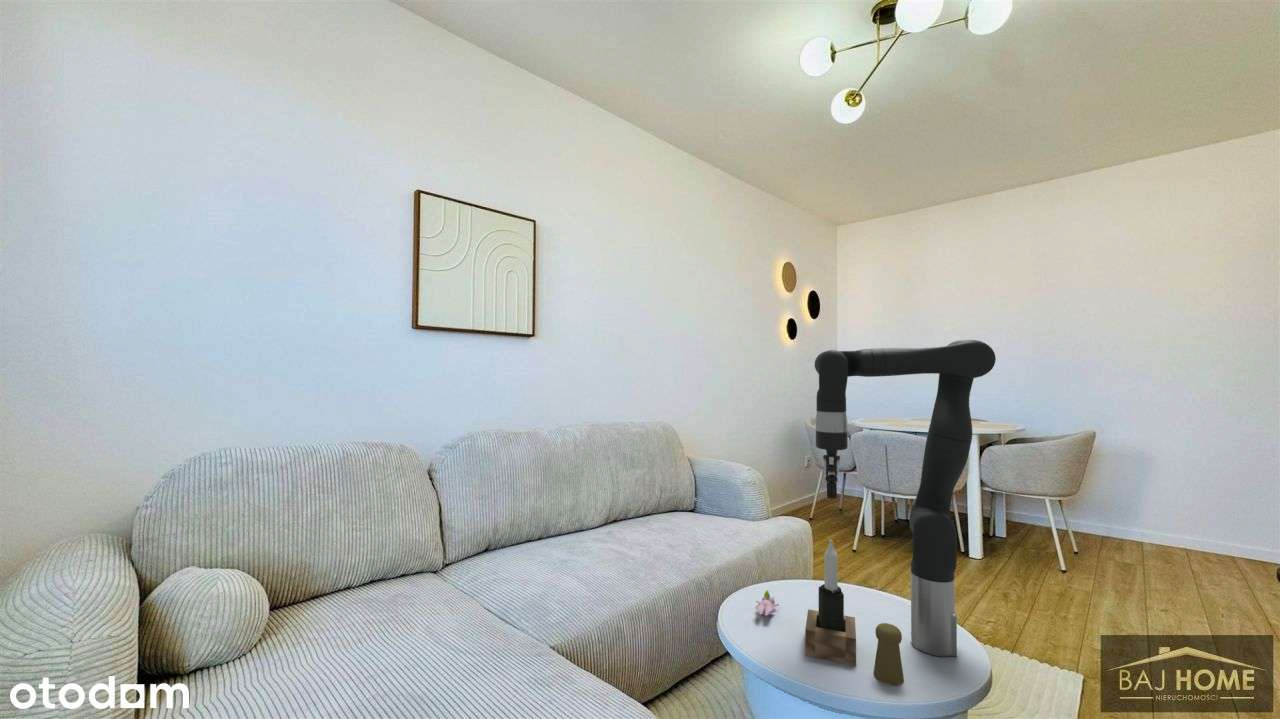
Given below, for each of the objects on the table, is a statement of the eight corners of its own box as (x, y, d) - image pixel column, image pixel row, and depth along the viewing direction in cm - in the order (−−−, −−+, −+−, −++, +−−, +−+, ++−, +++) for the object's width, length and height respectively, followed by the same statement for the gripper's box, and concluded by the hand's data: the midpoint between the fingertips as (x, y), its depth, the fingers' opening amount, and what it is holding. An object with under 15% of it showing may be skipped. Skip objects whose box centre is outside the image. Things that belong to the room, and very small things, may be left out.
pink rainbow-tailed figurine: (757, 605, 148) (751, 619, 134) (758, 583, 149) (751, 595, 136) (780, 609, 146) (775, 624, 132) (780, 586, 147) (775, 599, 133)
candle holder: (855, 642, 126) (854, 617, 126) (856, 665, 116) (856, 638, 116) (808, 633, 130) (808, 609, 130) (805, 655, 120) (805, 629, 120)
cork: (868, 669, 114) (867, 619, 114) (893, 668, 115) (893, 619, 115) (883, 686, 108) (882, 633, 108) (910, 685, 108) (910, 632, 109)
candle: (838, 639, 125) (838, 536, 126) (845, 650, 120) (845, 543, 121) (817, 638, 125) (817, 535, 126) (822, 649, 120) (822, 542, 121)
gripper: (848, 433, 120) (848, 502, 120) (846, 427, 134) (847, 489, 133) (814, 431, 123) (815, 499, 122) (816, 426, 136) (817, 487, 136)
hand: (831, 494), depth 128 cm, fingers open, 8 cm apart
